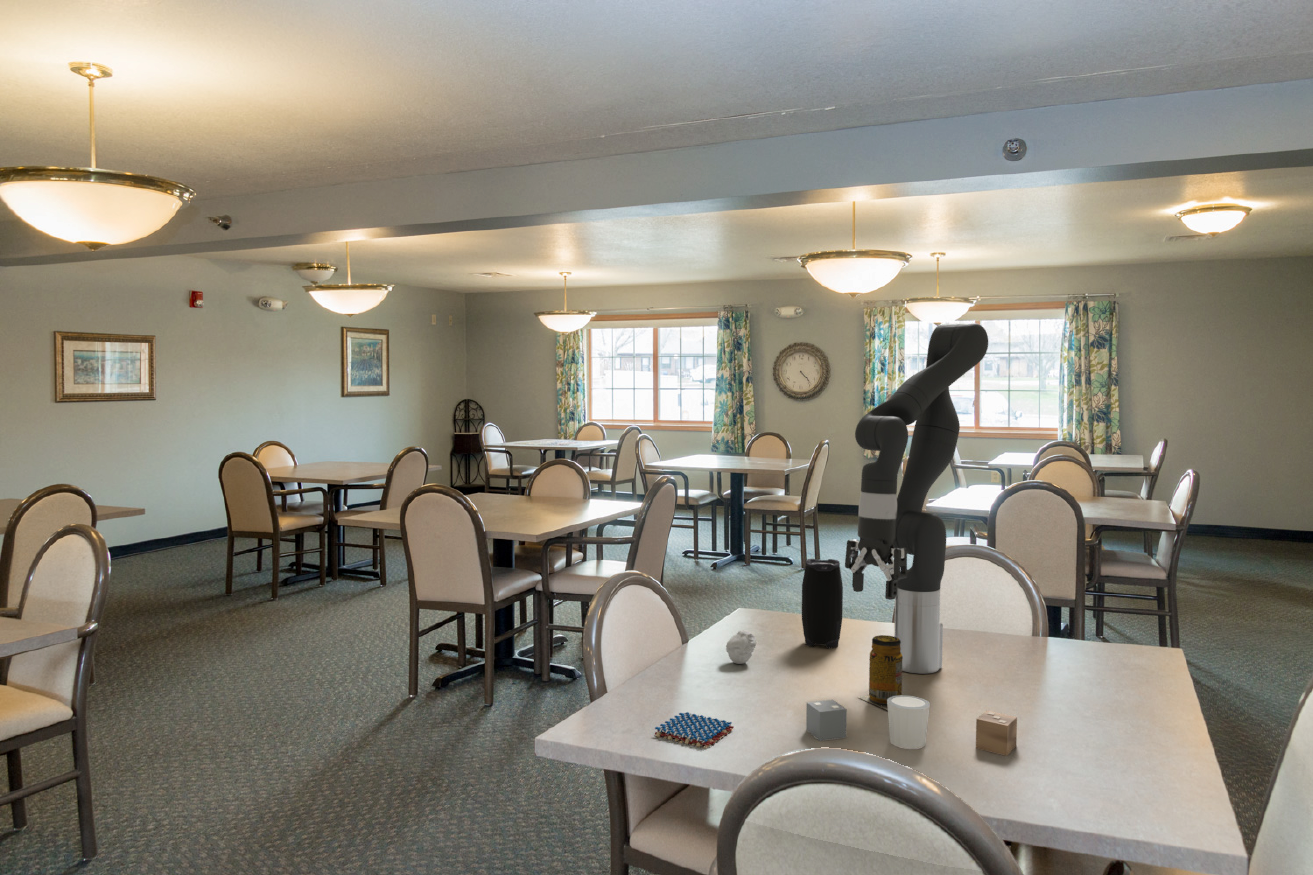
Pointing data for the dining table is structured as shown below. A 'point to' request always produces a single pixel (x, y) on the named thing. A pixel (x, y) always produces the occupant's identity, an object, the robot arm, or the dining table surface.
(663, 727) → the woven mat
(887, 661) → the condiment
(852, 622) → the dining table surface
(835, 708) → the slate dotted block
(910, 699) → the shot glass
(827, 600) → the portable speaker
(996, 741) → the walnut dotted block
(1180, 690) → the dining table surface
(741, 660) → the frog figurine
